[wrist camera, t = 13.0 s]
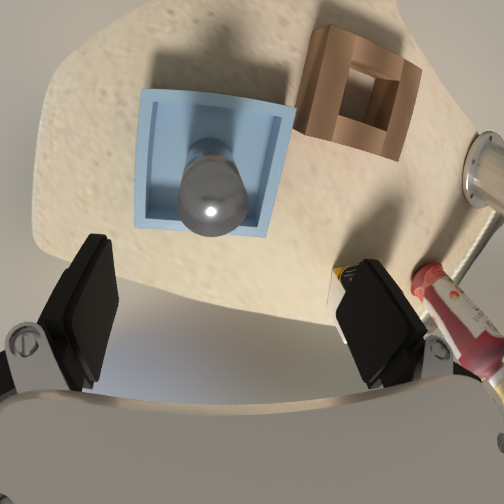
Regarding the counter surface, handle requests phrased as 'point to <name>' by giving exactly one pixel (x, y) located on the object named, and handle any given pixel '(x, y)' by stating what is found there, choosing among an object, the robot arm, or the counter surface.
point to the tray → (198, 127)
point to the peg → (211, 190)
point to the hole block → (333, 85)
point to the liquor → (462, 324)
